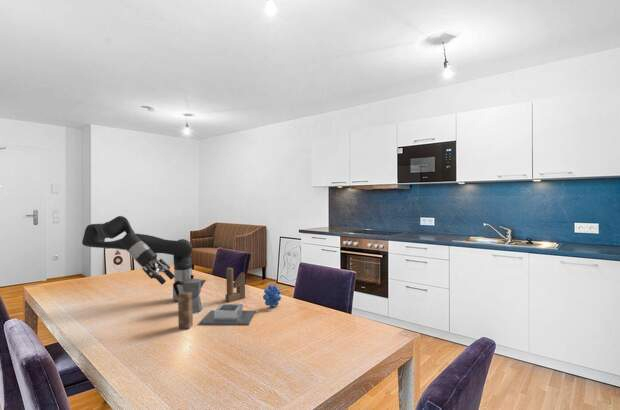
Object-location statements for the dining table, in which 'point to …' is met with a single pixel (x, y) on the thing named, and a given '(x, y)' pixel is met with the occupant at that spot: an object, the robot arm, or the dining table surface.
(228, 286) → the brown wooden pegged bracket
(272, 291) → the grapes
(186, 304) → the walnut post
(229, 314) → the keeper cradle
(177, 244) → the robot arm
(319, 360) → the dining table surface
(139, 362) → the dining table surface
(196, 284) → the coffeepot
